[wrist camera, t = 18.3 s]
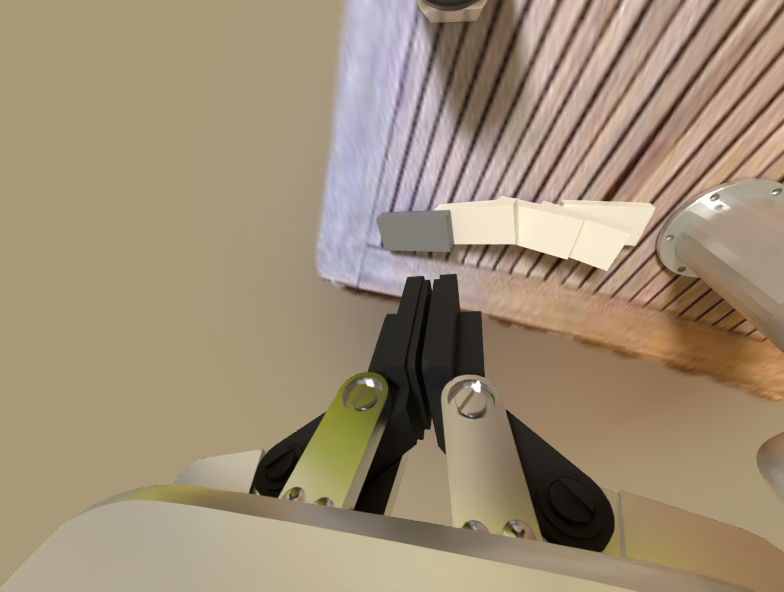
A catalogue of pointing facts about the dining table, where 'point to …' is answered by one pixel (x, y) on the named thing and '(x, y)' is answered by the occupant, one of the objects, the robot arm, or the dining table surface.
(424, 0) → the jar
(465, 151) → the dining table surface
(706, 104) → the dining table surface
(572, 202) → the ivory domino
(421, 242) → the slate domino
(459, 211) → the ivory domino
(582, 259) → the ivory domino
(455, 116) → the dining table surface
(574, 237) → the ivory domino
